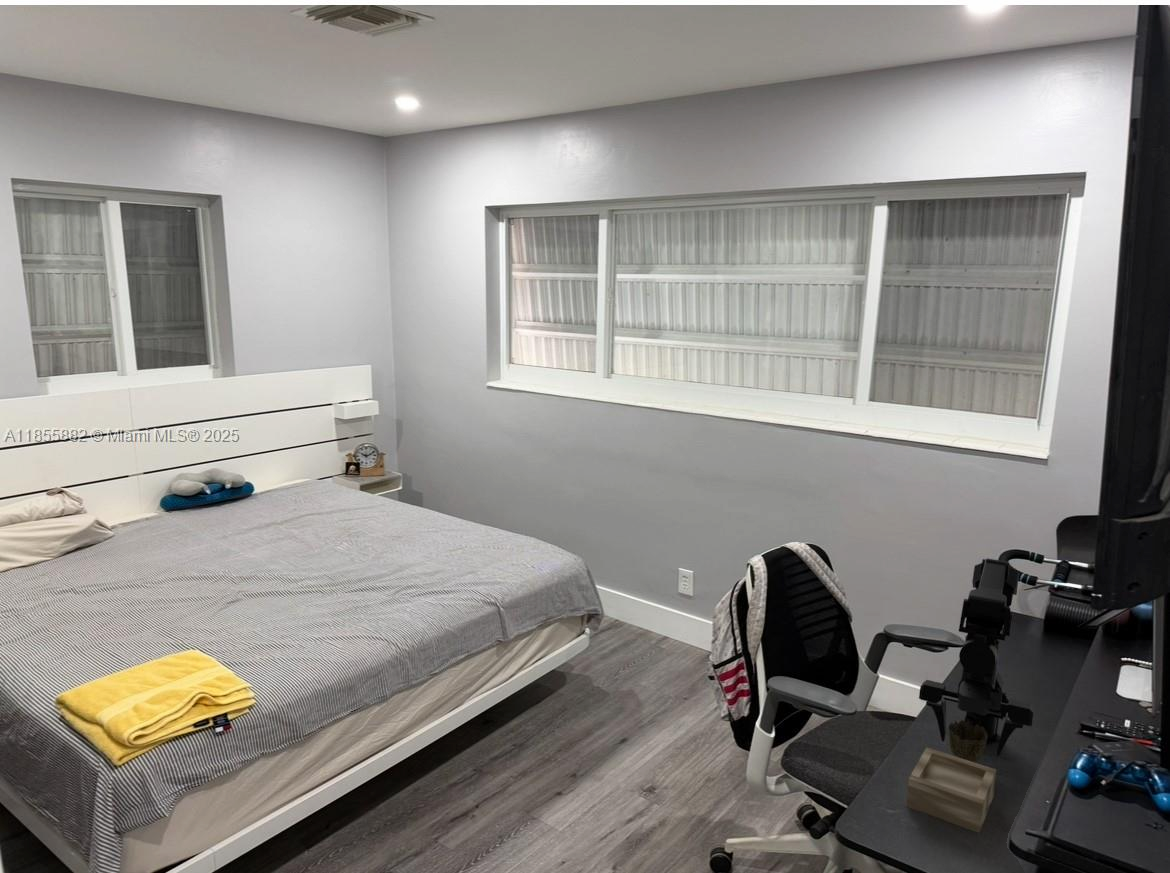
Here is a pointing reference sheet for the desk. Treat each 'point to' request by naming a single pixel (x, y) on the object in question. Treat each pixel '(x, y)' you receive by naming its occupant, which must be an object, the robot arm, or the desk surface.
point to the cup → (967, 740)
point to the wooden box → (951, 789)
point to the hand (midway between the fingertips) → (970, 748)
